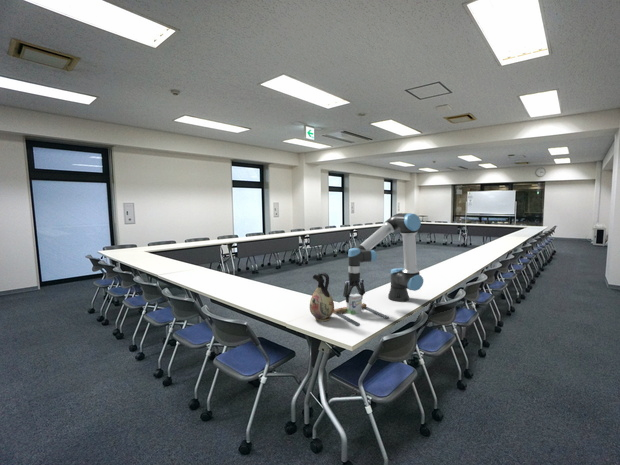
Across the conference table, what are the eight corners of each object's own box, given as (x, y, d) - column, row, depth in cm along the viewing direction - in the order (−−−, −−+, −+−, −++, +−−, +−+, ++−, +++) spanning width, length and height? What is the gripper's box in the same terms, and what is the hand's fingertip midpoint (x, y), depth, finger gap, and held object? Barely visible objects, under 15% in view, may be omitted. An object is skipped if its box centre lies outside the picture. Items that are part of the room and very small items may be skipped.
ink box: (357, 310, 200) (357, 293, 199) (361, 312, 196) (361, 295, 195) (346, 312, 197) (346, 294, 196) (350, 314, 192) (350, 296, 191)
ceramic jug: (304, 319, 186) (303, 271, 183) (321, 312, 197) (321, 268, 194) (324, 326, 174) (324, 275, 171) (341, 319, 184) (341, 271, 182)
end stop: (363, 306, 207) (363, 303, 207) (366, 308, 205) (366, 304, 205) (333, 313, 196) (333, 309, 196) (335, 314, 193) (335, 310, 193)
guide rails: (366, 308, 205) (366, 306, 205) (388, 318, 185) (388, 316, 185) (335, 314, 193) (335, 312, 193) (356, 326, 174) (356, 324, 174)
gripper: (363, 269, 202) (363, 301, 204) (337, 272, 192) (337, 306, 194) (370, 271, 196) (370, 304, 198) (343, 275, 186) (343, 310, 188)
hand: (354, 305), depth 196 cm, fingers closed on ink box, 9 cm apart
